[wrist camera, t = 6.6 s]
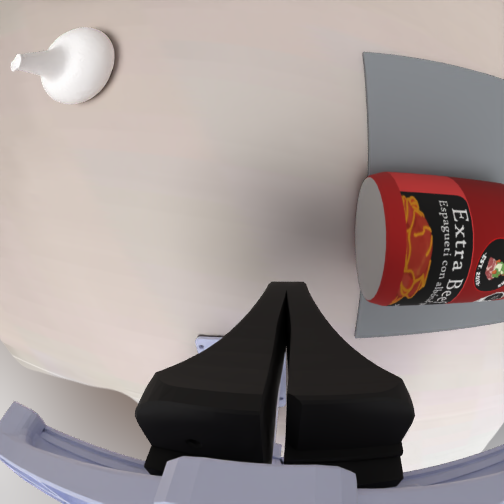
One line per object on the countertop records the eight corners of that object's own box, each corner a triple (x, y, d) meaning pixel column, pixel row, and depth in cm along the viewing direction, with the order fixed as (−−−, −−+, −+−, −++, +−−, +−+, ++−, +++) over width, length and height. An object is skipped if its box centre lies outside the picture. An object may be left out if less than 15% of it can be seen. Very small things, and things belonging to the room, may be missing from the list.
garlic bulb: (114, 20, 16) (49, -11, 9) (127, 83, 18) (53, 65, 11) (58, 57, 18) (-10, 46, 10) (68, 118, 20) (-7, 120, 12)
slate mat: (504, 319, 22) (506, 321, 22) (354, 335, 25) (355, 338, 24) (539, 94, 13) (542, 94, 13) (362, 53, 16) (363, 51, 15)
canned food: (395, 186, 11) (556, 204, 10) (356, 161, 18) (488, 174, 17) (373, 337, 14) (523, 322, 13) (350, 267, 22) (472, 266, 20)
